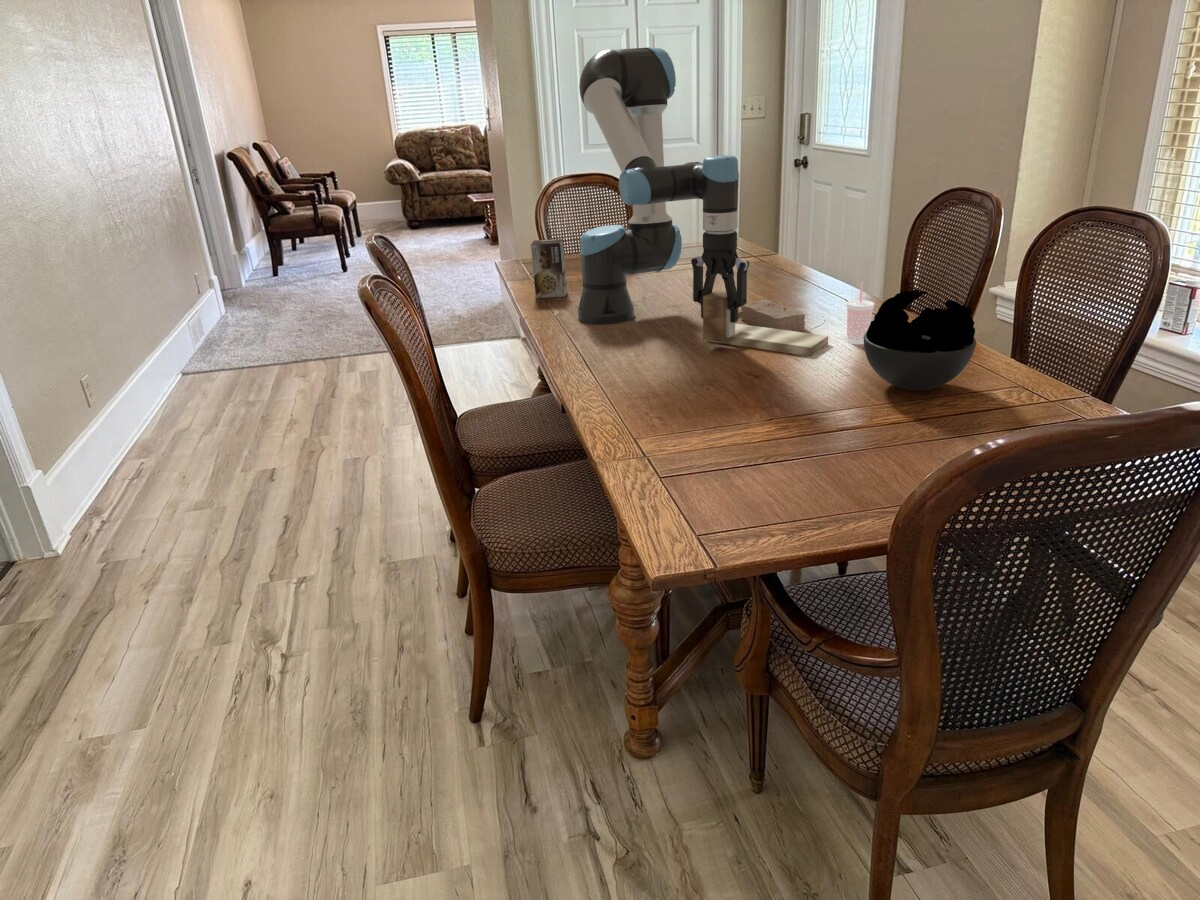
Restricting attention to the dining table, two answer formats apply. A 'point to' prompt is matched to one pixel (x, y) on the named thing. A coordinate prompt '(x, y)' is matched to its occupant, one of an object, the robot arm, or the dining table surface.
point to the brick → (772, 316)
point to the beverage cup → (858, 318)
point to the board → (777, 340)
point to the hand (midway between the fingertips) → (719, 333)
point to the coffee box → (549, 268)
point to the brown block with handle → (716, 316)
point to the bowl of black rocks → (919, 343)
